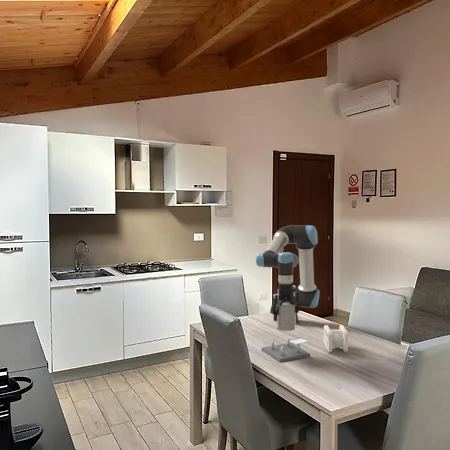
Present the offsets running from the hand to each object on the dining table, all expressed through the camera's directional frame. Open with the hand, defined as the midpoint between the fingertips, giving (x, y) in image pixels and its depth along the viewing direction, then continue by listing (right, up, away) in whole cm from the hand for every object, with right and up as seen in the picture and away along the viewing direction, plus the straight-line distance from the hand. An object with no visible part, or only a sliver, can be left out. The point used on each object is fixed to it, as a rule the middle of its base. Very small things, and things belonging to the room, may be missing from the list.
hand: (285, 325), depth 222 cm
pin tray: (0, -14, +1) cm, 15 cm away
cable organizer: (+27, -14, +6) cm, 31 cm away
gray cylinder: (0, -1, 0) cm, 1 cm away
